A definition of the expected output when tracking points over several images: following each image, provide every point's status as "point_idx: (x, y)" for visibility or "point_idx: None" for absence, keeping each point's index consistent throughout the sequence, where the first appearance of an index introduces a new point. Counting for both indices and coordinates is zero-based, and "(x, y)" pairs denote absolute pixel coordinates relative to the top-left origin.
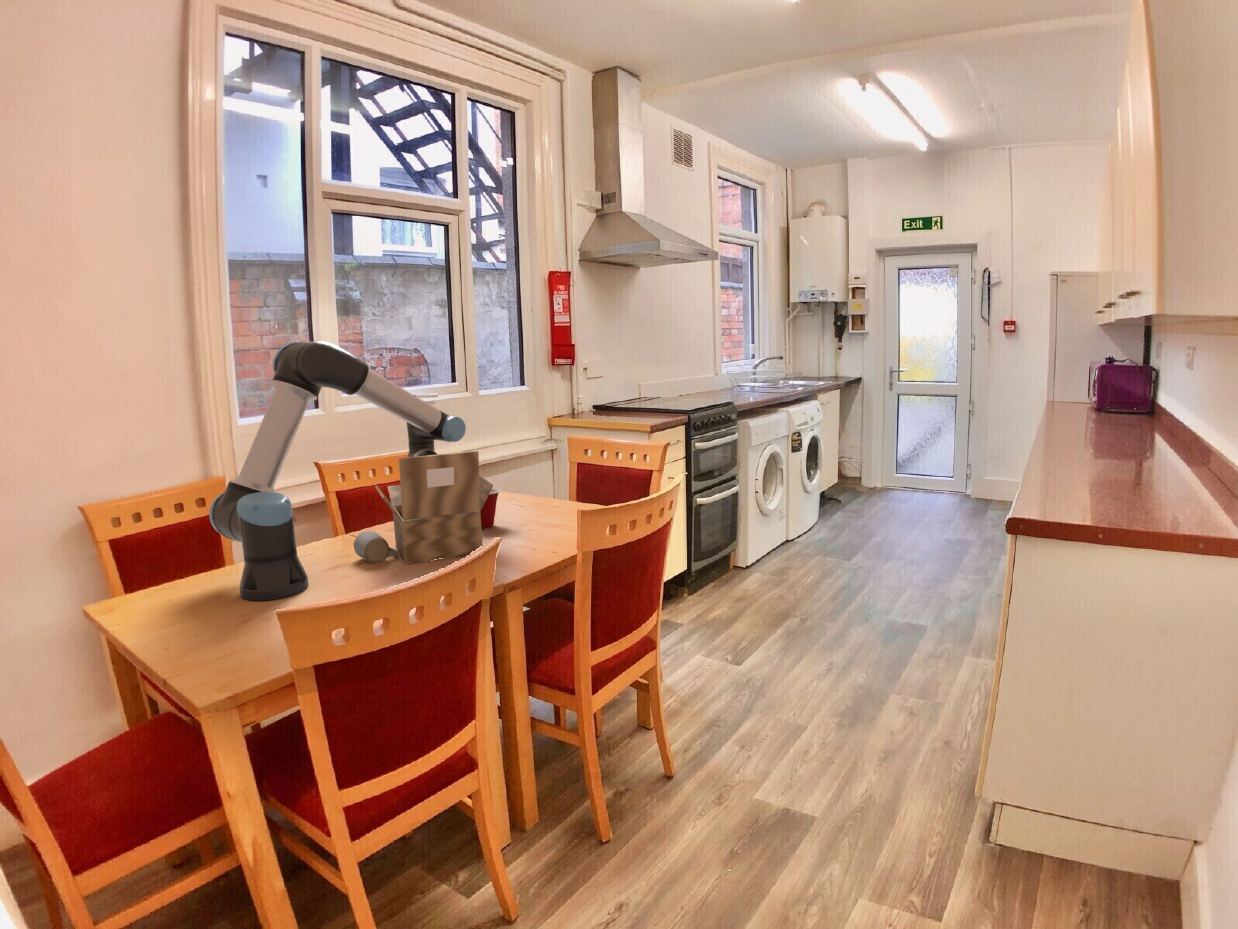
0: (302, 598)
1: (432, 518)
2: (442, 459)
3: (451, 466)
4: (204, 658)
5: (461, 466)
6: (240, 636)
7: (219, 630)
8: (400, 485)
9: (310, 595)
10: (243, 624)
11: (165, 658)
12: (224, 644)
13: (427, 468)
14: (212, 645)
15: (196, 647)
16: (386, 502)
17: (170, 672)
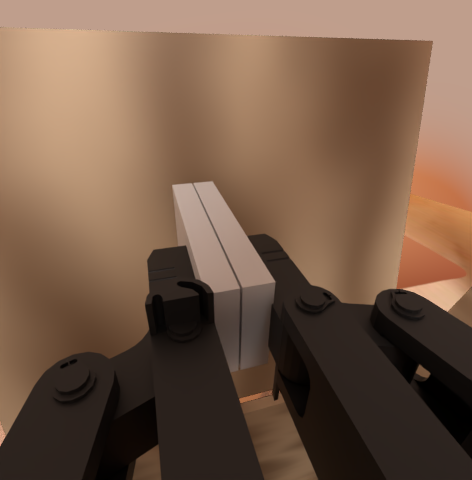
0: (453, 298)
1: (268, 398)
2: (185, 76)
3: (132, 140)
4: (416, 207)
5: (59, 152)
6: (424, 228)
7: (467, 240)
8: (407, 207)
9: (451, 307)
10: (453, 246)
11: (454, 211)
12: (424, 220)
13: (280, 129)
14: (435, 220)
15: (448, 219)
16: (469, 294)
17: (421, 198)
